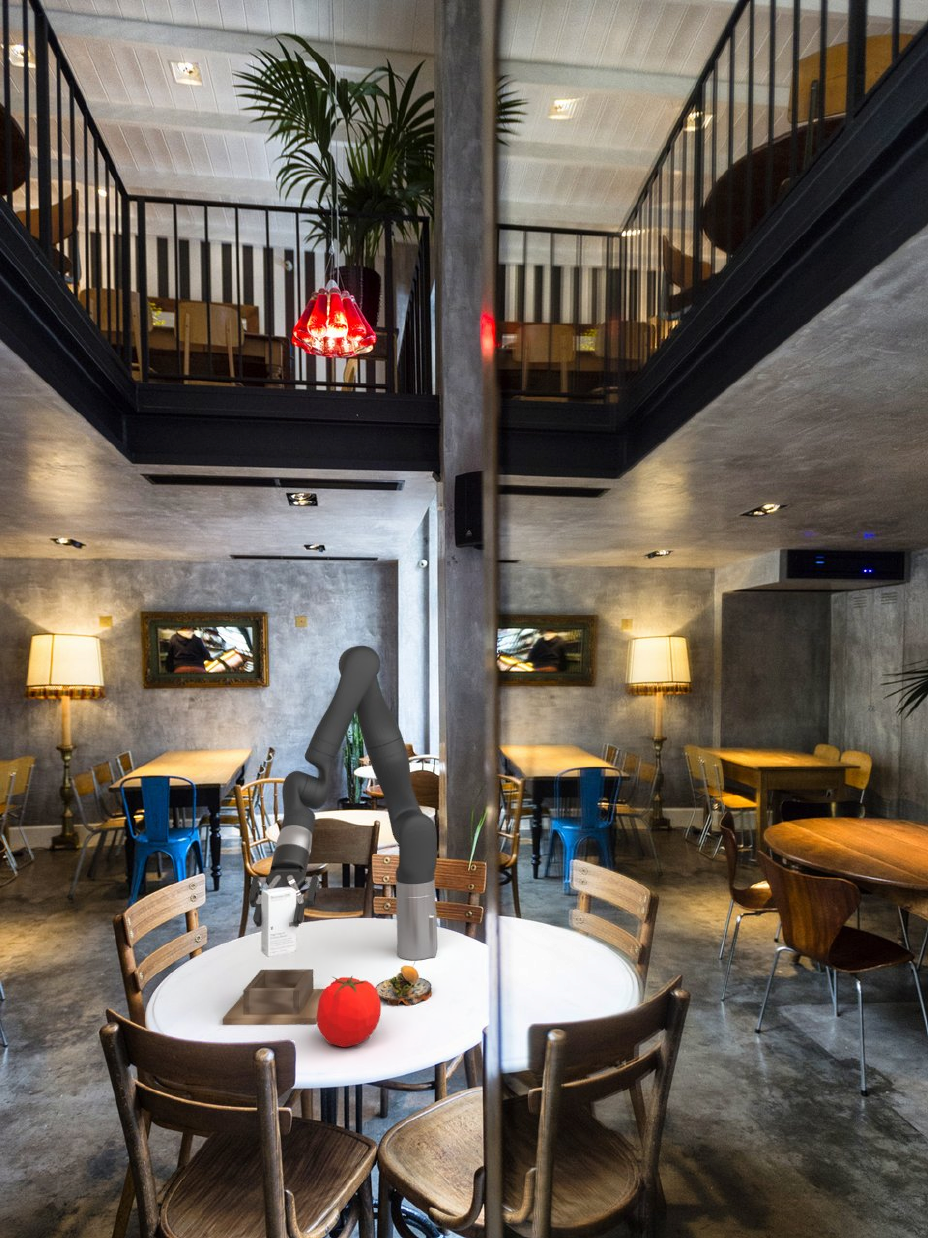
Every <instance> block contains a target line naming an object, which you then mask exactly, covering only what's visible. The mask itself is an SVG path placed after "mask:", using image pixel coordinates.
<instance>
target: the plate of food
mask: <svg viewBox="0 0 928 1238" xmlns="http://www.w3.org/2000/svg"><path fill="white" fill-rule="evenodd" d="M416 961H417V960H414V963H413V964H415V963H416ZM419 975H420V974H419V972H418V970H417V969H416V968H415V967H414V966H413V965H412V966H411V965H403V966H402V967H401V968H400V972H399V973H397V974H396V976H393V977H392V978H389V979H385V980H383V981H381V982H378V984H377V985H376V986H375V989H376V990H377V993H378V995H379V998H384V999H385V1000H387V1004H388V1006H392V1007H400V1003H401V1002H403V1003H404V1004H405V1005H406V1006H409V1007H411V1006H412V1005H416V1004H417V1003H418V1002H421V1001H422V1000H423V1001H424V1002H427V1000H429V999H430V997H432V996H433V991H432V990H433V989H432V982H430V981H429V980H427V979H425V978H422V977H420V976H419Z"/></svg>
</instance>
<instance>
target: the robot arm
mask: <svg viewBox="0 0 928 1238" xmlns="http://www.w3.org/2000/svg"><path fill="white" fill-rule="evenodd" d="M380 670H381V660H380V656H379V654H378V653H377V651H376V650H375V649H373V648H372V647H371V646H368V645H354V646H352V647H349V648H347V649H346V650H344V652H342V653H341V655H340V657H339V660H338V671H339V674H340V676H339V682H338V684H337V687H336V689H335V692H334V694H333V697H332V699H331V701H330V703H329V705H328V707H327V708H326V711H325V712H324V714H323V716H322V717H321V719H320V720H319V723H318V724H317V726H316V729H315V731H314V733H313V735H312V737H311V739H310V740H309V744H308V746H307V748H306V751H305V753H304V759H305V761H306V762H307V763H309V764H310V765H312V766H314V767H315V768H316V769H317V772H318V775H317V776H314V775H311V774H309V773H306V772H304V771H300V770H293V771H291V772H290V773H289V774H287V776H286V777H285V778H284V780H283V783H282V791H281V792H282V793H281V794H282V802H283V803H282V804H283V805H282V806H283V819H282V823H281V827H280V832H279V835H278V836H277V839H276V843H275V848H274V851H273V855H272V861H271V864H270V865H271V866H270V869H269V873H268V874H267V876H266V877H265V876H263V877H262V876H261V877H260V876H259V875H258V874H254V875H253V876H252V880H251V883H250V884H251V885H250V889H249V893H248V899H247V900H248V903H249V905H250V907H252V908H254V912H253V917H252V920H253V922H254V924H255V926H256V927H257V928H261V905H262V894H261V895H260V891H261V889H263V887H264V886H265V884H266V885H267V886H266V888H264V890H268V889H273V888H281V887H288V886H289V887H291V888H293V889H295V890H296V909H295V914H294V919H293V924H294V927H296V928H298V927H299V926H300V925H301V924H302V923H303V920H304V914H305V910H306V909H307V908H309V907H310V908H314V906H316V902H317V897H318V893H319V888H320V879H319V877H318V875H317V874H313V875H311V876H306V874H307V871H308V867H309V866H308V865H309V861H310V857H311V852H312V844H313V834H314V829H315V825H316V815H315V812H314V811H313V810H318V809H320V808H322V807H323V806H324V805H325V804H326V802H327V801H328V799H329V792H330V783H331V777H332V772H333V767H334V764H335V761H336V759H337V756H338V755H339V751H340V749H341V747H342V745H343V742H344V740H345V737H346V735H347V732H348V730H349V727H350V725H351V723H352V720H353V718H354V716H355V715H356V716H357V721H358V725H359V730H360V733H361V737H362V739H363V743H364V747H365V750H366V754H367V757H368V759H369V762H370V765H371V768H372V770H373V773H374V776H375V778H376V780H377V783H378V785H379V788H380V790H381V793H382V795H383V798H384V801H385V805H386V809H387V813H388V818H389V823H390V824H389V825H390V827H391V832H392V836H393V838H394V840H395V841H396V843H397V844H398V867H396V869H395V888H396V889H395V890H396V892H395V893H396V894H395V897H396V901H395V902H396V941H397V943H396V944H397V945H396V948H397V956H398V957H399V958H400V959H401V958H402V959H403V960H409V961H410V960H413V961H415V960H416V961H417V960H424V959H425V960H426V959H429V958H436V956H437V951H438V927H437V926H438V925H437V924H438V922H437V921H438V920H437V917H438V916H437V908H436V889H435V888H436V887H435V885H436V884H435V883H436V882H435V879H436V878H435V871H436V869H437V862H438V861H437V859H438V857H437V856H438V852H437V851H438V845H437V844H438V843H437V842H438V837H437V828H436V824H435V822H434V820H433V819H432V818H431V817H430V816H428V815H427V814H425V813H424V812H423V811H422V809H421V807H420V804H419V802H418V799H417V797H416V795H415V792H414V789H413V786H412V779H411V768H410V767H411V766H410V758H409V757H410V756H409V754H408V750H407V746H406V744H405V741H404V738H403V734H402V731H401V729H400V727H399V725H398V723H397V721H396V719H395V717H394V715H393V713H392V711H391V710H390V707H388V704H387V703H386V701H385V698H384V696H383V693H382V690H381V686H380V683H379V678H378V675H379V672H380ZM306 885H308V893H307V897H306V898H303V896H302V893H301V892H300V891H301V890H302V889H303V888H304V887H305V886H306ZM259 895H260V896H259Z"/></svg>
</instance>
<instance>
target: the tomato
mask: <svg viewBox="0 0 928 1238" xmlns="http://www.w3.org/2000/svg"><path fill="white" fill-rule="evenodd" d="M332 978H334V979H335V980H334V981H332V982H330V985H327V986H326V987H325V988H323V989H324V990H323V992H322V994H321V996H320V998H319V1003H318V1010H317V1023H316V1025H317V1028H318V1029H319V1032H320V1034H321V1036H322V1037H323V1038H324V1039H325V1040H326V1041H327V1042H328V1043H329V1044H331V1045H334V1046H337V1047H341V1048H347V1047H351V1046H355V1045H358V1044H360V1043H362V1042H364V1041H366V1039H368V1038H369V1037H370V1036H371V1035H372V1034H373V1033H374V1031H375V1030H376V1028H377V1026H378V1024H379V1021H380V1017H381V1011H382V1006H381V1004H382V1003H381V997H380V996H379V995H378V993H377V990H376V989H375V988H376V986H374V984H373V983H371V982H370V981H368V980H360V979H357V978H354V977H353V975H351V976H350V977H348V976H347V977H343V976H342V977H339V978H336V977H335V976H332Z"/></svg>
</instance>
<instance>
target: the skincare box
mask: <svg viewBox="0 0 928 1238" xmlns="http://www.w3.org/2000/svg"><path fill="white" fill-rule="evenodd" d="M261 895H262V905H261V927H260V931H261V932H260V933H261V935H260V940H261V941H260V951H261V953H262V954H263V955H265V957H267V958H270V957H274V956H280V955H285V954H289V953H294V952H296V950H297V927H294V924H293V919H294V914H295V909H296V905H297V901H296V890H295V889H293V888H291V887H289V886H288V887H281V888H273V889H268V890H265V889H263V890H261Z"/></svg>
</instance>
